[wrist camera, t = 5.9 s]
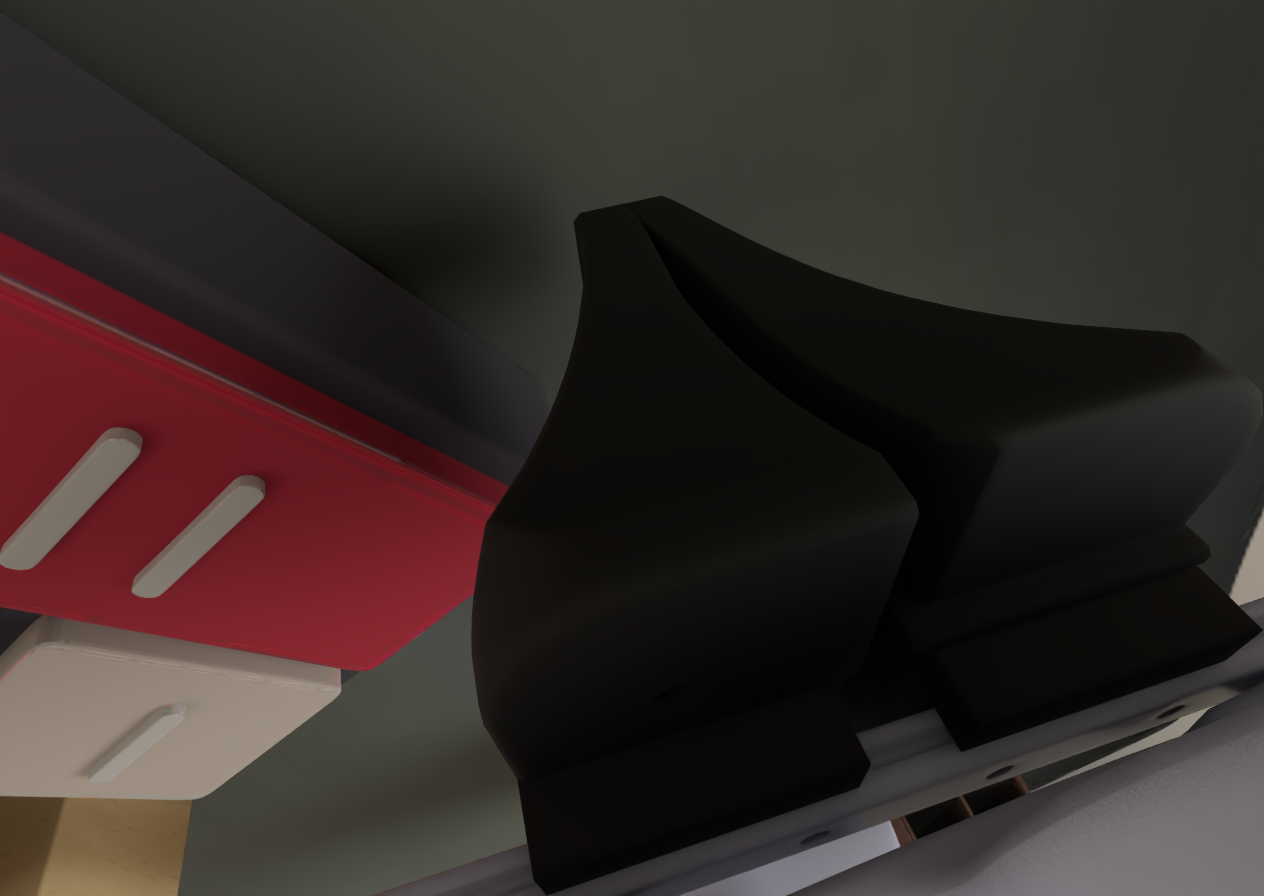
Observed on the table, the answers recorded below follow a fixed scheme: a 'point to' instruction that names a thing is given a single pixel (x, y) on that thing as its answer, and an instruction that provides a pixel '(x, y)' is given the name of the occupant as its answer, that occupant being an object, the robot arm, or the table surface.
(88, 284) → the calculator
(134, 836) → the birch block
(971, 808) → the letter holder
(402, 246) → the table surface
